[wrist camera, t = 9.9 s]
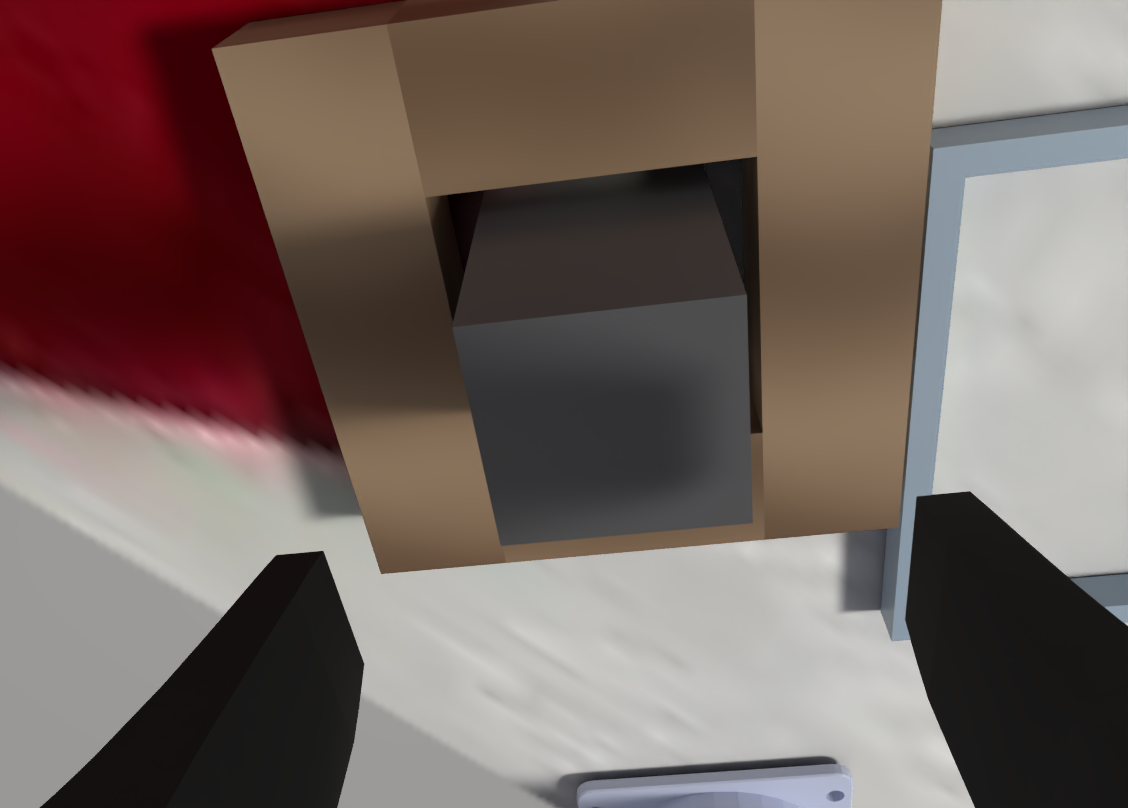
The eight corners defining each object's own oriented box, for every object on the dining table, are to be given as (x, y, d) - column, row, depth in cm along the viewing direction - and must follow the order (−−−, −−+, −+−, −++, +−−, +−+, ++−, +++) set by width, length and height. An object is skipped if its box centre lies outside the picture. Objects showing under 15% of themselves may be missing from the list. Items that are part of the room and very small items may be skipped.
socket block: (873, 469, 21) (898, 527, 20) (395, 515, 22) (381, 574, 21) (906, -71, 15) (946, -54, 14) (249, 22, 16) (211, 49, 15)
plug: (708, 336, 20) (753, 523, 15) (519, 356, 20) (500, 546, 15) (698, 149, 17) (746, 294, 12) (487, 176, 18) (452, 327, 13)
